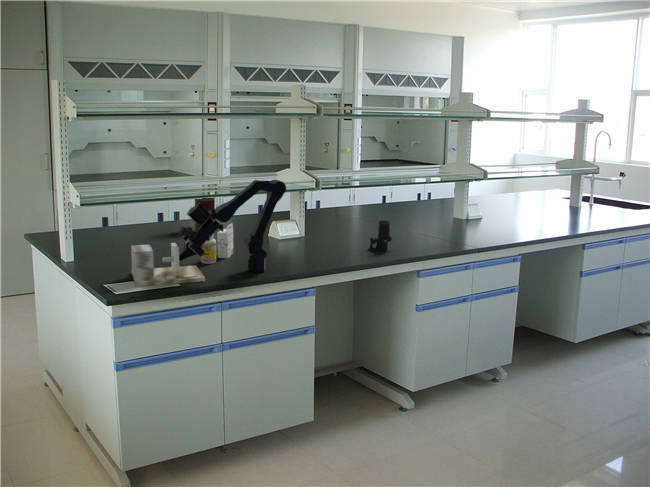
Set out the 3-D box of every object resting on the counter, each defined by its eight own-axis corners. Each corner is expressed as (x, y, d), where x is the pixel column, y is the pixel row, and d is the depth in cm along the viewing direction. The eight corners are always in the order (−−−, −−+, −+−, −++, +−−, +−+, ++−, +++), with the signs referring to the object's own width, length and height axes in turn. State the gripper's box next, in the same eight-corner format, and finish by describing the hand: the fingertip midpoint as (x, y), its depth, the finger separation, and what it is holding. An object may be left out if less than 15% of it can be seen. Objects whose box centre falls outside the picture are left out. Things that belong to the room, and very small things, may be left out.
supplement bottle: (197, 262, 281) (197, 233, 278) (208, 259, 286) (207, 231, 283) (208, 265, 277) (208, 235, 274) (219, 262, 282) (219, 233, 279)
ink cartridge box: (223, 253, 297) (223, 222, 294) (233, 254, 297) (233, 222, 293) (217, 257, 289) (216, 225, 286) (227, 258, 288) (227, 226, 285)
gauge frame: (195, 268, 270) (195, 239, 268) (205, 281, 253) (204, 250, 250) (131, 273, 261) (130, 243, 258) (136, 286, 244) (135, 254, 241)
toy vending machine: (211, 227, 352) (210, 176, 346) (215, 231, 342) (214, 179, 336) (194, 228, 349) (193, 176, 343) (198, 232, 339) (197, 179, 332)
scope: (370, 220, 314) (390, 220, 316) (368, 247, 317) (388, 247, 319) (374, 223, 306) (394, 223, 308) (372, 251, 309) (393, 251, 311)
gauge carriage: (175, 269, 262) (175, 242, 260) (181, 278, 250) (180, 250, 248) (161, 270, 260) (160, 243, 258) (166, 279, 248) (165, 251, 245)
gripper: (186, 214, 264) (159, 241, 262) (195, 222, 247) (166, 252, 245) (206, 232, 268) (179, 259, 267) (216, 241, 252) (187, 271, 250)
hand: (177, 260), depth 257 cm, fingers closed
